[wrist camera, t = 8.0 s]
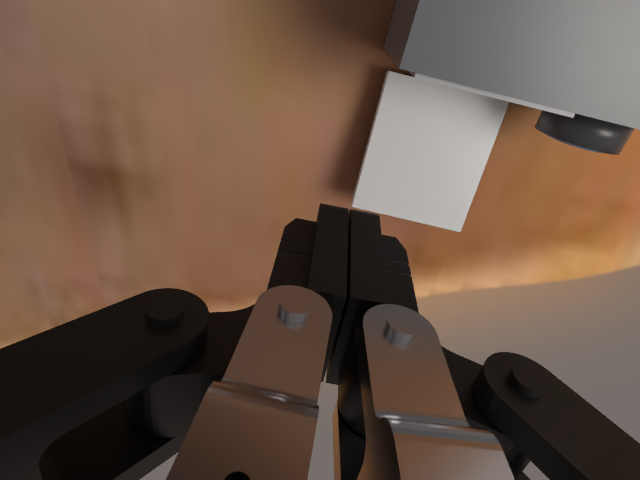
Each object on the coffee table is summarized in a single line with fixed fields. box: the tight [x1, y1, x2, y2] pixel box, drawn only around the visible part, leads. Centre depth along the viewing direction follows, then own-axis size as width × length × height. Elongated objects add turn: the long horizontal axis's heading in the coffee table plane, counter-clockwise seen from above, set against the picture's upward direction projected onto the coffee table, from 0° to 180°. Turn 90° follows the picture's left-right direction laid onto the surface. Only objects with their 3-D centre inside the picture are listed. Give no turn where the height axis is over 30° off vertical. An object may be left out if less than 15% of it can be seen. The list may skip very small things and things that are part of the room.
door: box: [351, 71, 509, 232], centre depth 26 cm, size 1×7×8 cm
